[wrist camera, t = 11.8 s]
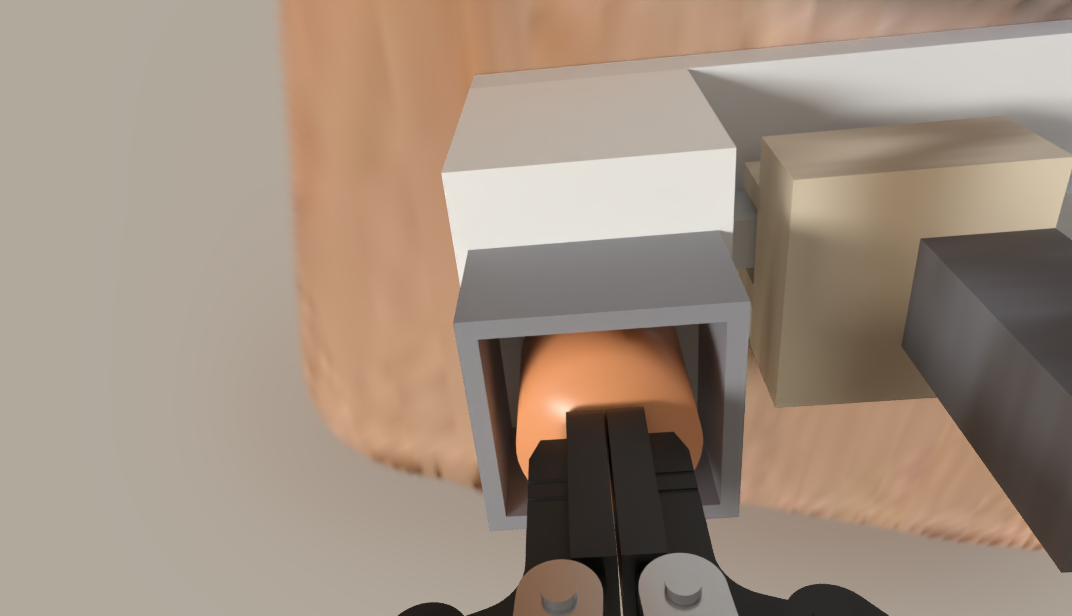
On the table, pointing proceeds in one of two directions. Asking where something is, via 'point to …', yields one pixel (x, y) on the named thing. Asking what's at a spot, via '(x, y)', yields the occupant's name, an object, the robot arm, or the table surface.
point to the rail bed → (680, 202)
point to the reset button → (604, 384)
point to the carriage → (925, 289)
